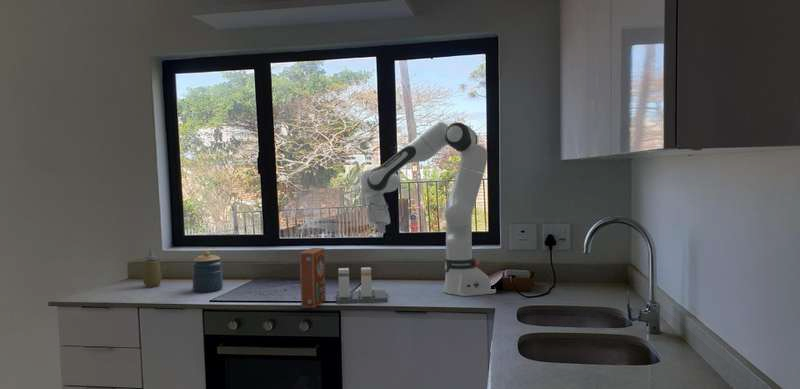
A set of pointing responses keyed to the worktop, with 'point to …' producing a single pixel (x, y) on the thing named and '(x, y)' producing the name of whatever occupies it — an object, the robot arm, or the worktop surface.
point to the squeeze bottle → (152, 271)
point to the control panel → (312, 277)
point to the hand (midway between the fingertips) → (383, 232)
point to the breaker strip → (355, 296)
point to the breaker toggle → (366, 281)
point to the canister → (207, 273)
